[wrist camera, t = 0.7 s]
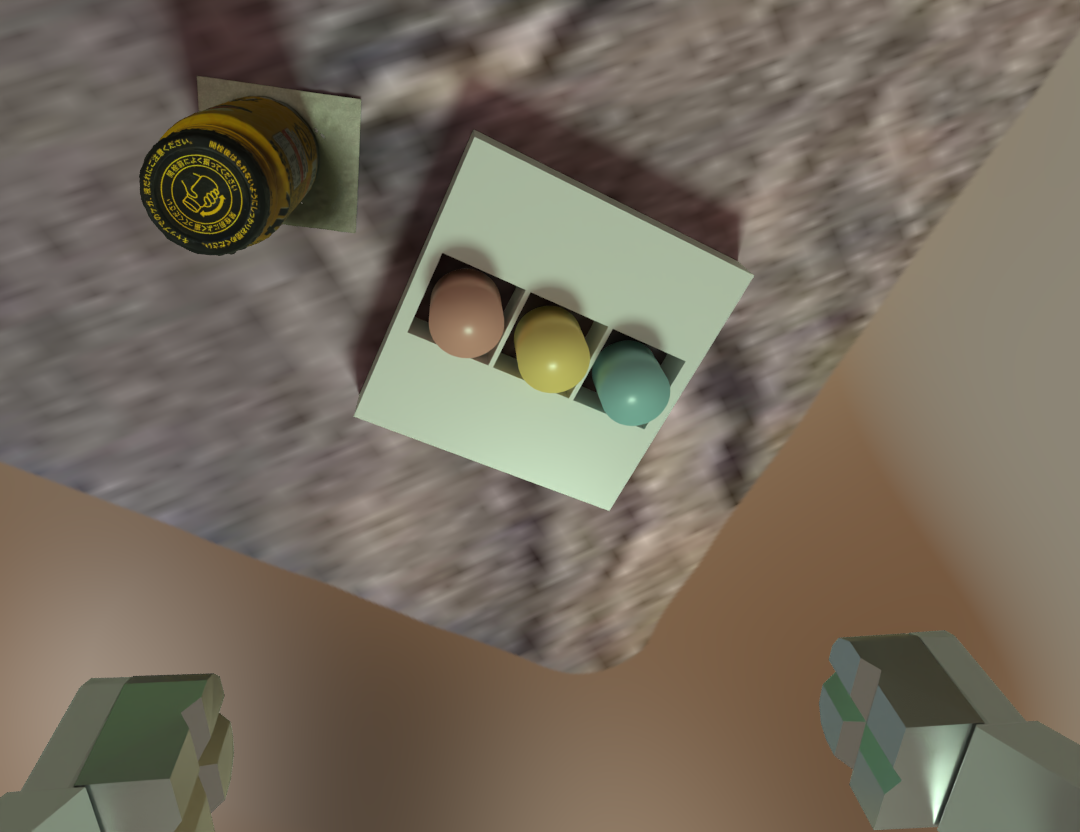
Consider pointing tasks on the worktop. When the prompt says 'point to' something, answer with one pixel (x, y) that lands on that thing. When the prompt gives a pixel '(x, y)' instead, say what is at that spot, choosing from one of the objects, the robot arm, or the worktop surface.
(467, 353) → the salmon brown ball
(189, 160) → the condiment
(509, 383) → the panel
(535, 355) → the button mustard
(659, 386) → the button teal
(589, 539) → the worktop surface
